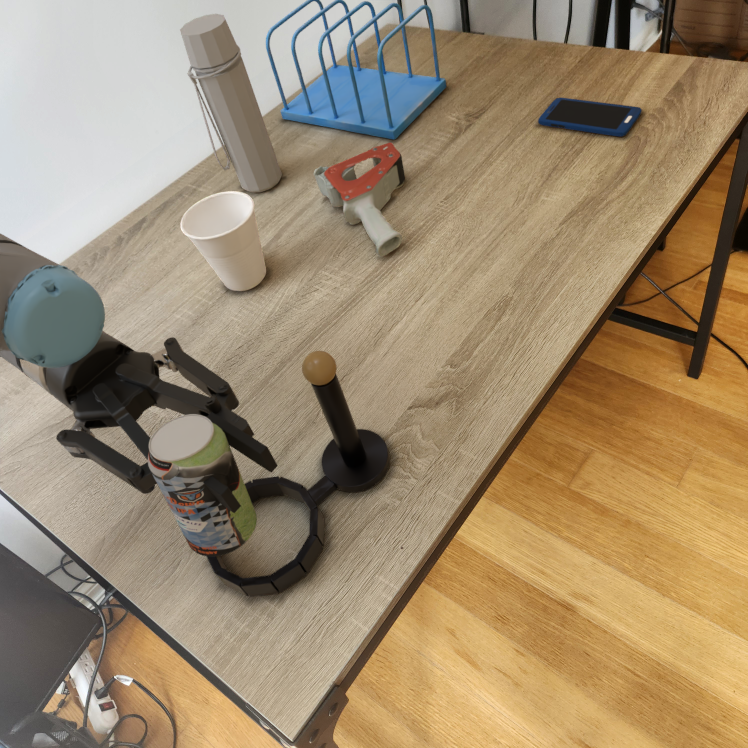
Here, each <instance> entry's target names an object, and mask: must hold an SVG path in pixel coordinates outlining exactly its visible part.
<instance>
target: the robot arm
mask: <svg viewBox="0 0 748 748" xmlns="http://www.w3.org/2000/svg"><path fill="white" fill-rule="evenodd" d="M105 321H106V310H105V305H104V302H103V299H102V297H101V295H100V293H99V292H98V291H97V289H95V288H94V286H93V285H92V284H90V283H89V282H87V280H85V279H84V278H82V277H80V276H79V275H78V274H77V273H76V272H75V270H73V269H70V268H69V267H68V266H66V265H63V264H58V263H57V262H56V261H53V260H51V259H49V258H47V257H46V256H44V255H41V254H40V253H37V252H35V251H34V250H32V249H29V248H28V247H26V246H24V245H22V244H21V243H18V241H15V240H13V239H11V238H10V237H8V236H6V235H4V234H2V233H0V358H1V359H3V360H4V361H6V362H7V363H9V364H11V365H12V366H13V367H15V369H17V370H19V371H20V372H22V373H23V374H24V375H25V376H26V377H28V378H29V379H30V380H32V381H33V383H36V384H37V385H38V386H39V387H40V388H42V389H43V390H45V391H46V392H47V393H48V394H50V396H53V397H54V398H55V400H57V401H59V402H60V403H61V404H62V405H64V406H65V407H66V408H68V409H69V410H70V411H72V415H73V417H74V419H75V421H74V423H73V425H72V426H71V428H70V429H68V428H67V429H62V430H60V431H59V432H58V433H57V435H56V437H55V438H56V441H57V442H58V443H59V444H60V445H61V446H62V447H63V448H64V449H65V450H66V451H67V452H68V453H69V454H70V455H71V456H72V457H74V458H77V459H84V460H85V459H86V460H91V461H93V462H94V463H95V464H97V465H98V466H100V467H102V468H103V469H105V470H107V471H108V472H109V473H110V474H113V475H114V476H115V477H117V478H119V479H120V480H121V481H123V482H125V483H126V484H128V485H129V486H131V487H132V488H134V489H135V490H137V491H138V492H139V493H141V494H144V495H148V494H150V493H152V492H153V491H154V490H155V487H156V485H158V484H157V482H156V480H155V478H154V476H153V474H152V472H151V470H150V469H149V466H148V453H149V441H150V438H151V437H150V436H149V435H148V434H147V432H146V431H145V430H144V429H143V427H141V425H140V424H139V423H138V422H137V421H138V420H139V419H140V418H141V416H142V415H143V414H144V412H146V411H147V410H148V409H150V408H152V407H156V408H158V409H161V410H166V409H168V410H170V411H173V412H176V413H179V414H181V415H189V414H197V415H202V416H205V417H207V418H208V419H209V420H210V421H211V422H212V423H214V424H216V425H217V426H218V427H220V428H221V429H222V431H223V432H224V433H225V436H226V438H227V441H228V443H229V446H230V448H233V449H234V450H236V451H237V452H238V453H240V454H241V455H243V456H245V457H246V458H248V459H249V460H250V461H253V462H254V463H255V464H257V465H258V466H259V467H261V468H263V469H265V470H266V471H268V472H269V473H271V474H272V473H273V472H274V471H275V470H276V469H277V468H278V467H279V466H278V464H277V462H276V460H275V458H274V456H273V454H272V453H271V450H270V449H269V447H268V446H267V445H265V444H263V442H261V441H259V440H257V439H256V438H254V436H255V433H254V431H253V429H252V428H251V425H250V424H249V422H248V420H247V419H246V418H244V417H242V416H241V415H239V414H237V413H235V412H234V411H233V410H235V409H237V408H238V407H239V405H240V401H239V399H238V398H237V396H236V394H235V392H234V390H233V388H232V386H231V384H230V383H229V382H228V381H227V380H226V379H224V378H222V377H221V376H220V375H218V374H216V373H215V372H214V371H212V370H211V369H209V368H208V367H207V366H205V365H204V364H203V363H200V361H198V360H197V359H195V358H194V357H192V356H191V355H189V354H187V352H185V351H184V350H183V348H182V346H181V345H180V343H179V341H178V340H177V337H173V336H172V337H169V338H167V339H165V340H164V342H163V347H164V348H163V349H161V350H159V351H157V352H155V353H153V354H151V353H149V352H146V351H136V350H134V349H133V348H131V347H130V346H128V345H127V344H125V343H124V342H122V341H121V340H119V339H117V338H115V337H114V336H112V335H111V334H109V333H106V332H105V331H104V327H105ZM160 368H166V369H167V370H171V371H172V372H173V373H176V372H178V373H179V374H180V375H181V376H182V377H183V378H184V379H186V381H188V382H189V383H191V384H192V385H194V386H195V387H196V388H197V389H199V390H200V391H202V392H203V393H205V394H206V395H205V394H201V393H199V392H196V391H193V390H191V389H188V388H185V387H182V386H179V385H177V384H174V383H171V382H168V381H166V380H163V379H162V378H160V377H161V376H160ZM108 428H121V429H122V430H123V432H124V434H126V436H127V437H128V438H129V439H130V440H131V442H132V443H133V444H134V445H135V447H136V448H137V449H138V450H139V452H140V453H141V454H142V455H143V457H144V458H145V459H146V460H147V462H145V463H144V464H142V465H140V464H138V463H137V462H135V461H134V460H132V459H130V458H128V457H127V456H125V455H124V454H123V453H120V452H119V451H117V450H116V449H114V448H113V447H111V446H109V444H106V443H105V442H103V441H101V440H100V439H98V437H97V438H96V436H95V434H94V433H93V432H92V431H91V430H96V429H97V430H99V429H108ZM203 483H204V484H205V485H206V487H207V488H208V489H209V490H210V491H211V493H212V494H213V495H214V496H215V498H216V499H217V500H218V501H219V503H221V504H222V505H223V506H225V507H226V508H227V509H229V510H230V511H232V512H233V513H235V512H236V511H237V510H238V509H239V508H240V507H241V505H240V503H239V502H238V501H237V499H236V498H235V496H234V495H233V493H232V492H231V491H230V489H229V488H228V487H227V486H225V485H224V484H223V483H221V482H220V481H218V480H217V479H216V478H214V477H213V476H211V477H210V478H209V479H207V480H206V481H204V482H203Z"/></svg>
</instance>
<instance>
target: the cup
mask: <svg viewBox="0 0 748 748" xmlns="http://www.w3.org/2000/svg"><path fill="white" fill-rule="evenodd" d="M255 208H256V206H255V201H254V199H253V198H252V196H250V195H249V194H247V193H245V192H242V191H238V190H237V191H236V190H229V191H228V190H227V191H226V190H225V191H222V192H221V191H220V192H217V193H213V194H210V195H208V196H206V197H203V198H202V199H200V200H198V201H196V202H195V203H194V204H192V205H191V206H190V207H189V208H188V209H187V210H186V211H185V212H184V214H183V215H182V216H181V219H180V230H181V232H182V234H184V236H185V237H187V238H188V239H189V240H190V241H191V243H192V244H193V245H194V246H195V248H196V249H197V251H198V252H199V253H200V254H201V256H202V257H203V259H205V260H206V262H207V263H208V265H209V266H210V268H211V269H212V270H213V271H214V273H215V274H216V275H217V277H218V278H219V279H220V281H221V282H222V283H223V285H224V286H225V287H226V288H227V289H228V290H231V291H235V292H244V291H249V290H251V289H253V288H255V287H257V286H259V284H260V283H261V282H262V281H263V280H264V278H265V276H266V274H267V267H266V263H265V257H264V254H263V248H262V242H261V237H260V233H259V228H258V227H259V226H258V221H257V217H256V213H255Z"/></svg>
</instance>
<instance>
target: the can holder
mask: <svg viewBox="0 0 748 748" xmlns="http://www.w3.org/2000/svg"><path fill="white" fill-rule="evenodd" d="M337 368H338V367H337V363H336V360H335V358H334V356H333V355H331V354H330V353H329V352H327V351H324V350H314V351H311V352H310V353H308V354H307V355H306V356H305V358H304V359H303V361H302V364H301V372H302V376H303V377H304V379H305V380H306V381H307V382H308V383H310V386H311V387H312V390H313V392H314V395H315V398H316V400H317V402H318V404H319V406H320V409H321V412H322V413H323V417H324V418H325V421H326V423H327V426H328V427H329V430H330V433H331V435H332V437H333V439H331V440H330V441H329V442H328V444H327V445H326V446H325V448H324V450H323V453H322V456H321V469H322V471H323V473H324V476H322V477H321V478H320V479H319V480H318V481H317V482H315V484H313V485H312V486H311V487H310V488H309V489H307V487H306V486H304V485H303V484H301V483H298V482H296V481H294V480H291V479H289V478H286V477H283V476H279V475H277V476H269V477H262V478H253V479H252V480H249V481H247V482H244V484H245V487H246V489H247V492H248V494H249V497H250V499H251V502H252V504H254V503H255V502H257V501H259V500H260V499H263V498H272V497H278V496H286V497H288V498H291V499H294V500H296V501H298V502H301V503H303V504H304V505H305V506H306V508H307V509H308V511H309V531H308V536H307V538H306V540H305V541H304V543H303V544H302V546H301V548H300V549H299V551H298V552H297V554H296V556H295V558H294V559H292V560H291V561H289V562H288V563H286V564H285V565H283V566H282V567H280V568H278V569H276V571H274V572H272V573H271V574H267V575H258V576H251V577H249V576H248V577H242V576H240V575H238V574H236V573H234V572H232V571H230V570H228V569H227V567H226V565H225V563H224V561H223V559H222V555H221V556H215V557H209V556H206V559H207V561H208V563H209V565H210V567H211V570H212V572H213V573H214V574H215V575H216V577H217V578H218V579H219V580H220V581H221V582H222V583H223V584H224V585H225V586H227V587H228V588H230V589H232V590H234V591H236V592H238V593H240V594H242V595H244V596H246V597H251V598H252V597H259V596H262V597H263V596H269V595H279V593H281V594H282V593H283V592H285V591H286V590H288V589H289V588H290V587H293V586H294V585H295V584H297V583H298V582H300V581H301V580H303V579H304V578H305V577H307V574H308V575H309V574H310V572H311V570H312V568H313V567H314V565H315V563H316V562H317V560H318V558H319V556H320V555H321V553H322V551H323V550H324V546H325V519H324V515H323V513H322V512H321V510H320V508H319V505H320V504H322V503H323V502H324V501H325V500H326V499H327V498H329V497H330V496H331V495H332V494H333V493H335V492H336V491H337V490H339V491H341V492H345V493H360V492H364V491H367V490H370V489H372V488H374V487H375V486H376V485H378V484H379V483H380V482H381V481H382V480H383V479H384V477H385V476H386V474H387V473H388V471H389V468H390V464H391V456H390V452H389V449H388V446H387V443H386V442H385V440H384V439H383V437H381V435H379V433H376V432H374V431H372V430H370V429H364V428H357V426H356V424H355V420H354V418H353V416H352V413H351V410H350V407H349V404H348V402H347V399H346V396H345V393H344V391H343V388H342V386H341V383H340V380H339V378H338V375H337Z"/></svg>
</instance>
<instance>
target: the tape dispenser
mask: <svg viewBox="0 0 748 748" xmlns="http://www.w3.org/2000/svg"><path fill="white" fill-rule="evenodd" d="M369 159H372V163H373V167H372V168H371V169H369V170H368V171H366V172H364V173H363V174H362V175H360V176H359V177H358V178H357V175H356V171H355V166H356V164H359V163H361V162H364V161H367V160H369ZM313 176H314V179H315V181H316V185H317V186H318V189H319V191H320V193H321V195H322V196H323V197H327V198H328V200H329V202H330V206H331V207H333V208H338V207H342V212H343V216H344V219H345V222H346V223H349V224H350V225H353V226H354V225H357V224H359V223H361V224H362V226H363V228H364V230H365V232H366V233H367V235H368V237H369V239H370V240H371V241H372V243H373V244H374V245H375V253H376V255H377V256H378V257H385V256H387V255H388V254H390V253H391V252H394V250H397V248H399V247H400V245H401V243H402V241H403V237H402V236H403V235H402V233H401V232H399V231H397V230H395V229H394V228H393V225H392V223H390V222H388V221H387V218H386V217H385V216H384V215H383V213H382V211H381V210H382V209H383V208H384V207H385V206H386V204H387V203H388V202H389V201H390V200H391V196H392V195H391V194H392V193H393V192H394V191H395V190H397V189H400V188H401V187H402V186H404V184H405V180H406V175H405V168H404V163H403V158H402V154H401V152H400V151H399V150H398V149H397V148H396V147H395V145H394V143H392V142H387V143H384V144H381V145H377V146H373V147H371V148H370V149H368V150H367V151H364V152H360V153H359V154H357V155H354V156H352V157H349V158H347V159H345V160H343V161H341V162H338V163H335V164H333V165H331V166H327V165H326V166H321V165H319V166H318V167H317V168H315V169H314V171H313Z"/></svg>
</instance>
